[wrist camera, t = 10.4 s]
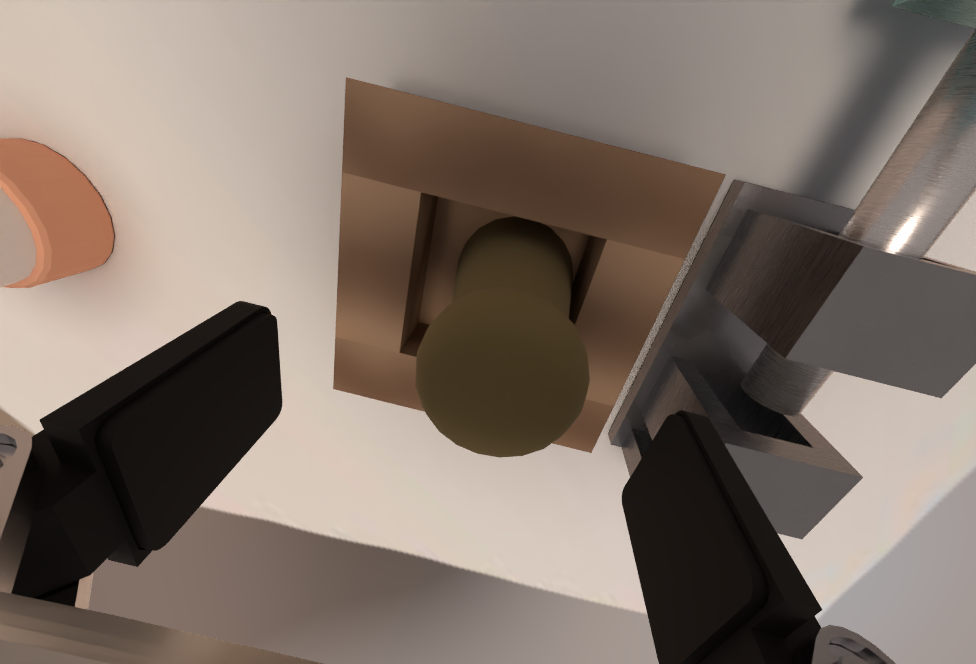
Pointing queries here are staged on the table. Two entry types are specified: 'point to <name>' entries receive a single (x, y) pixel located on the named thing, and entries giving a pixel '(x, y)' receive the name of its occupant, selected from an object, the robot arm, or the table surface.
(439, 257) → the walnut holder
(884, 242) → the steel shaft
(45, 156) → the salt shaker
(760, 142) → the table surface
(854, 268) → the shaft bracket
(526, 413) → the olive brown pear shape
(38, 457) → the robot arm
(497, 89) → the table surface
